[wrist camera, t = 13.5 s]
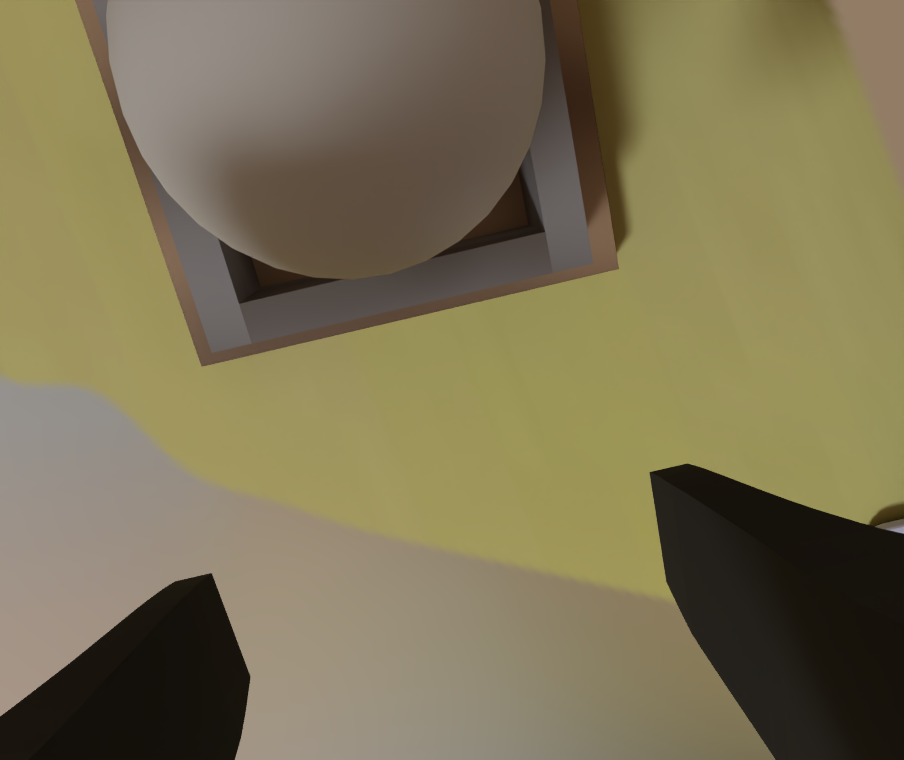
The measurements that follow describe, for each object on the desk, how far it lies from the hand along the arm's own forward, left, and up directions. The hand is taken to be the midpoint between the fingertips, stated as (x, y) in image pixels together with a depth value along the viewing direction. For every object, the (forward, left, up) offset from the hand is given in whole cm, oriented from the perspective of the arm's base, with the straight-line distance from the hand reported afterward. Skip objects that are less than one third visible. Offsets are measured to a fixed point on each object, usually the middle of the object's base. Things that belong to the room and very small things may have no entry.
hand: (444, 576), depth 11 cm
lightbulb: (+8, 0, -10) cm, 12 cm away
